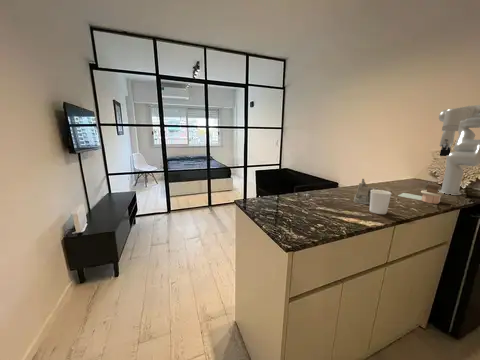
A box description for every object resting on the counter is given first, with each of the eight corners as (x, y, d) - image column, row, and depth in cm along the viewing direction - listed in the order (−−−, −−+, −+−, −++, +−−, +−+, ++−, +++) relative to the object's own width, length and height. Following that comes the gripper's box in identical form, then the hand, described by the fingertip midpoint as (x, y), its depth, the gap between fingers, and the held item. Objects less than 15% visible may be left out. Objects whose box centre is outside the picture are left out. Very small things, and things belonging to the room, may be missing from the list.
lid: (423, 190, 142) (424, 182, 140) (445, 194, 133) (447, 185, 132) (418, 193, 135) (420, 184, 134) (441, 197, 127) (443, 187, 125)
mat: (403, 193, 156) (403, 192, 156) (425, 197, 146) (425, 196, 146) (397, 196, 148) (397, 195, 148) (420, 201, 138) (420, 200, 138)
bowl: (423, 199, 141) (425, 191, 140) (439, 203, 135) (441, 194, 133) (420, 202, 136) (421, 193, 135) (437, 205, 130) (439, 196, 128)
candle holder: (385, 216, 112) (388, 195, 110) (365, 211, 120) (368, 191, 117) (390, 212, 119) (393, 192, 116) (371, 207, 126) (373, 188, 123)
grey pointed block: (350, 201, 138) (354, 179, 135) (357, 197, 149) (362, 177, 146) (377, 208, 127) (382, 185, 124) (383, 203, 139) (388, 181, 135)
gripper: (444, 129, 140) (439, 154, 144) (439, 128, 130) (433, 155, 133) (460, 129, 134) (454, 155, 138) (456, 128, 124) (450, 156, 128)
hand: (444, 155), depth 136 cm, fingers open, 9 cm apart
